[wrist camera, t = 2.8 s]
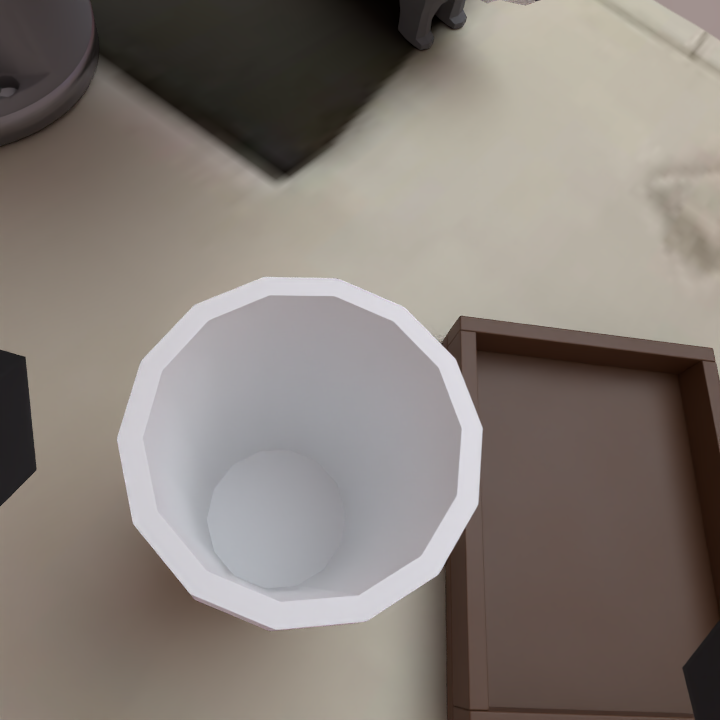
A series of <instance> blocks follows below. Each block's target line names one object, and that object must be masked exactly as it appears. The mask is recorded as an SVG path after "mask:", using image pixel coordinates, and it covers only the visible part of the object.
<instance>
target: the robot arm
mask: <svg viewBox="0 0 720 720" xmlns="http://www.w3.org/2000/svg"><path fill="white" fill-rule="evenodd" d="M98 57H99V39H98V34H97V29H96V25H95V20H94V15H93V11H92V6H91V2H90V0H0V146H2V145H5V144H8V143H11V142H14V141H17V140H19V139H22V138H24V137H27V136H29V135H31V134H33V133H35V132H37V131H39V130H41V129H43V128H44V127H46V126H48V125H49V124H51V123H52V122H54V121H55V120H57V119H58V118H59V117H61V116H62V115H63V114H65V113H66V112H67V111H68V110H69V109H70V108H71V107H72V106H73V105H74V104H75V103H76V102H77V101H78V100H79V98H80V97H81V96H82V95H83V93H84V92H85V90H86V89H87V87H88V86H89V84H90V82H91V80H92V78H93V76H94V73H95V70H96V67H97V62H98ZM36 470H37V469H36V459H35V449H34V439H33V429H32V419H31V409H30V399H29V388H28V378H27V368H26V358H25V357H24V356H20V355H17V354H13V353H10V352H6V351H3V350H0V506H1V505H2V504H3V503H4V502H5V501H6V500H7V499H8V498H9V497H10V496H11V495H12V494H13V493H14V492H15V491H16V490H17V489H18V488H19V487H20V486H21V485H22V484H23V483H24V482H25V481H26V480H27V479H28V478H29V477H30V476H31V475H32V474H33V473H34V472H35V471H36ZM682 669H683V673H684V677H685V681H686V685H687V689H688V693H689V697H690V701H691V705H692V709H693V714H694V718H695V720H720V620H719V621H718V622H717V624H716V625H715V626H714V628H713V629H712V630H711V631H710V633H709V634H708V635H707V637H706V638H705V639H704V640H703V642H702V643H701V644H700V646H699V647H698V648H697V649H696V651H695V652H694V653H693V655H692V656H691V657H690V658H689V660H688V661H687V662H686V664H685V665H684V666H683V667H682Z"/></svg>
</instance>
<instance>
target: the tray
mask: <svg viewBox="0 0 720 720" xmlns="http://www.w3.org/2000/svg"><path fill="white" fill-rule="evenodd" d="M443 347H444V348H445V349H446V350H447V351H448V352H449V353H450V354H451V355H452V356H453V357H454V358H455V359H456V361H457V364H458V366H459V369H460V371H461V374H462V376H463V379H464V381H465V384H466V387H467V389H468V392H469V394H470V397H471V399H472V402H473V404H474V407H475V409H476V412H477V415H478V417H479V420H480V422H481V425H482V427H483V432H482V449H481V466H480V484H479V501H478V506H477V508H476V509H475V511H474V513H473V515H472V516H471V518H470V520H469V522H468V523H467V525H466V527H465V529H464V530H463V532H462V534H461V536H460V538H459V539H458V541H457V543H456V545H455V546H454V548H453V550H452V552H451V553H450V555H449V557H448V559H447V560H446V636H447V720H695V718H694V714H693V709H692V705H691V701H690V697H689V693H688V689H687V685H686V681H685V677H684V673H683V669H682V667H683V666H684V665H685V664H686V662H687V661H688V660H689V658H690V657H691V656H692V655H693V653H694V652H695V651H696V649H697V648H698V647H699V646H700V644H701V643H702V642H703V640H704V639H705V638H706V637H707V635H708V634H709V633H710V631H711V630H712V629H713V628H714V626H715V625H716V624H717V622H718V621H719V620H720V380H719V375H718V370H717V365H716V362H715V356H714V351H713V348H707V347H699V346H691V345H684V344H676V343H668V342H660V341H652V340H645V339H637V338H629V337H621V336H614V335H606V334H598V333H590V332H583V331H575V330H567V329H559V328H551V327H544V326H536V325H528V324H520V323H513V322H505V321H497V320H489V319H482V318H474V317H466V316H460V317H459V318H458V320H457V321H456V322H455V324H454V325H453V327H452V328H451V329H450V331H449V332H448V334H447V335H446V337H445V338H444V340H443Z"/></svg>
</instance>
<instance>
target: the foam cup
mask: <svg viewBox="0 0 720 720" xmlns="http://www.w3.org/2000/svg"><path fill="white" fill-rule="evenodd" d="M482 432H483V427H482V425H481V422H480V420H479V417H478V415H477V412H476V409H475V407H474V404H473V402H472V399H471V397H470V394H469V392H468V389H467V387H466V384H465V381H464V379H463V376H462V374H461V371H460V369H459V366H458V364H457V361H456V359H455V358H454V357H453V356H452V355H451V354H450V353H449V352H448V351H447V350H446V349H445V348H444V347H443V346H442V345H441V344H440V342H439V341H438V340H437V339H436V338H435V337H434V336H433V335H432V334H431V333H430V332H429V331H428V330H427V329H426V328H425V327H424V326H423V325H422V324H421V323H420V322H419V321H418V320H417V319H416V318H415V317H414V316H413V315H412V314H411V313H410V312H409V311H408V310H407V309H406V308H405V307H403V306H401V305H399V304H396V303H394V302H392V301H389V300H387V299H385V298H382V297H380V296H378V295H375V294H373V293H371V292H368V291H366V290H364V289H361V288H359V287H357V286H354V285H352V284H350V283H347V282H345V281H343V280H340V279H338V278H298V277H262V278H260V279H257V280H255V281H252V282H250V283H248V284H245V285H243V286H240V287H238V288H235V289H233V290H230V291H228V292H225V293H223V294H220V295H218V296H215V297H213V298H210V299H208V300H205V301H203V302H200V303H198V304H195V305H194V306H193V307H192V308H191V309H190V310H189V311H188V312H187V313H186V314H185V315H184V316H183V317H182V318H181V319H180V320H179V321H178V323H177V324H176V325H175V326H174V327H173V328H172V329H171V330H170V331H169V332H168V333H167V334H166V335H165V336H164V337H163V338H162V339H161V340H160V341H159V343H158V344H157V345H156V346H155V347H154V348H153V349H152V350H151V351H150V352H149V353H148V354H147V355H146V356H145V357H144V358H143V359H142V360H141V362H140V365H139V369H138V372H137V375H136V378H135V382H134V385H133V388H132V391H131V395H130V398H129V401H128V404H127V408H126V411H125V414H124V417H123V421H122V424H121V427H120V430H119V434H118V437H117V442H118V448H119V453H120V458H121V463H122V469H123V474H124V479H125V484H126V490H127V495H128V500H129V506H130V511H131V516H132V521H133V524H134V526H135V527H136V528H137V529H138V530H139V532H140V533H141V534H142V535H143V537H144V538H145V539H146V540H147V542H148V543H149V544H150V545H151V546H152V548H153V549H154V550H155V551H156V553H157V554H158V555H159V556H160V558H161V559H162V560H163V561H164V562H165V564H166V565H167V566H168V567H169V569H170V570H171V571H172V572H173V574H174V575H175V576H176V577H177V578H178V580H179V581H180V582H181V583H182V585H183V586H184V587H185V588H186V590H187V591H188V592H189V593H190V594H191V596H192V597H193V598H194V599H195V600H196V601H199V602H201V603H204V604H206V605H208V606H211V607H213V608H215V609H218V610H220V611H223V612H225V613H227V614H230V615H232V616H235V617H237V618H239V619H242V620H244V621H247V622H249V623H251V624H254V625H256V626H258V627H261V628H263V629H266V630H268V631H278V630H289V629H300V628H311V627H321V626H332V625H343V624H353V623H360V622H366V621H368V620H369V619H371V618H372V617H374V616H376V615H377V614H379V613H380V612H382V611H383V610H385V609H386V608H388V607H389V606H391V605H392V604H394V603H396V602H397V601H399V600H400V599H402V598H403V597H405V596H406V595H408V594H409V593H411V592H412V591H414V590H416V589H417V588H419V587H420V586H422V585H423V584H425V583H426V582H428V581H429V580H431V579H432V578H434V577H436V576H437V575H438V574H439V573H440V571H441V569H442V567H443V566H444V564H445V562H446V560H447V559H448V557H449V555H450V553H451V552H452V550H453V548H454V546H455V545H456V543H457V541H458V539H459V538H460V536H461V534H462V532H463V530H464V529H465V527H466V525H467V523H468V522H469V520H470V518H471V516H472V515H473V513H474V511H475V509H476V508H477V506H478V501H479V484H480V466H481V449H482Z"/></svg>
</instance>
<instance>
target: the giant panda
mask: <svg viewBox="0 0 720 720" xmlns="http://www.w3.org/2000/svg"><path fill="white" fill-rule="evenodd" d="M482 1H484V2H486V3H490V2H494V1H497V0H482ZM503 1H508V2H512V3H517V4H521V5H528V4H532V3H534V2H536V1H539V0H503ZM464 4H465V0H400V18H399V25H398V30H399V32H400V33H401V34H402V35H403V36H404V38H405V39H407V40H408V41H409V42H410V43H411V44H412V45H414V46H415V47H417V48H418V49H420V50H423V49H427V48H429V47H430V46H431V44H432V43H433V40H434V36H433V34H432V32H431V30H430V29H431V21H432V17H433V16H434V15H436V16H437V17H438V18H439V19H440V20H442V21H443V22H444V23H446V24H447V25H448V26H450V27H452V28H453V29H456V28H460V27H462V26H463V25H464V23H465V22H466V18H467V16H466V15H465V13H464V11H463V8H464Z"/></svg>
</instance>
